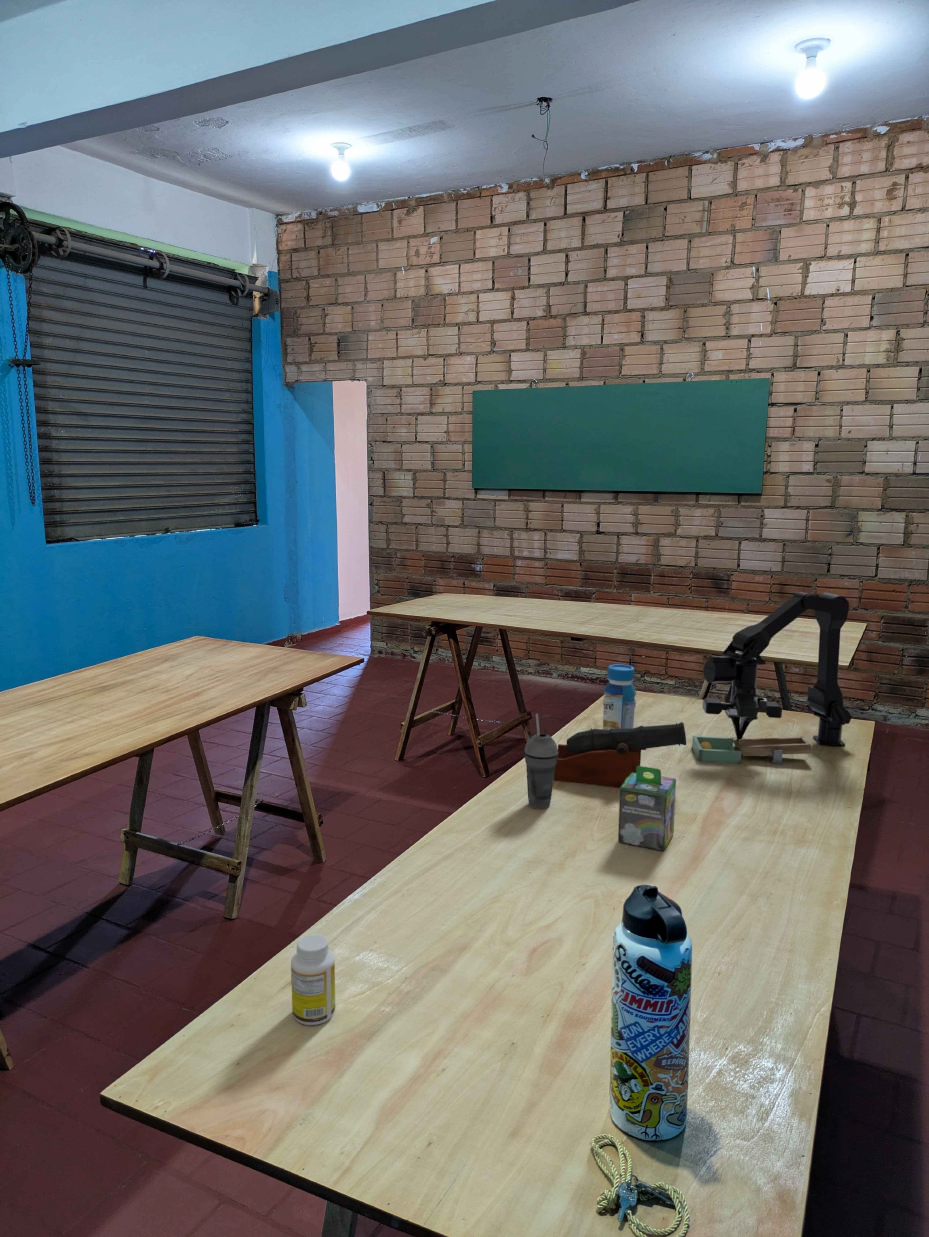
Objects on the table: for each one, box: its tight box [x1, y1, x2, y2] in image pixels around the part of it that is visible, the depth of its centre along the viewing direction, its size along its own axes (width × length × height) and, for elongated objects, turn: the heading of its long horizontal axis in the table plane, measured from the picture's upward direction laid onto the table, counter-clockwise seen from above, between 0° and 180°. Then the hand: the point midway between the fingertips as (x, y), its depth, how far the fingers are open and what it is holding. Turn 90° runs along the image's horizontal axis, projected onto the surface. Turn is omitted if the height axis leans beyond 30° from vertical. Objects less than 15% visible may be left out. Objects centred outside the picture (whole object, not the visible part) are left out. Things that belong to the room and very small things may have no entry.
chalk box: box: [617, 765, 677, 852], centre depth 163 cm, size 9×9×15 cm
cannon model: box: [553, 721, 687, 789], centre depth 194 cm, size 13×30×15 cm, turn 75°
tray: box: [691, 735, 742, 765], centre depth 213 cm, size 11×10×3 cm
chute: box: [731, 736, 812, 757], centre depth 214 cm, size 12×16×2 cm
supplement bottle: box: [290, 933, 336, 1026], centre depth 110 cm, size 6×6×10 cm
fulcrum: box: [767, 749, 783, 765], centre depth 211 cm, size 8×2×4 cm, turn 173°
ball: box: [700, 742, 712, 749], centre depth 213 cm, size 3×3×3 cm
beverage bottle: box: [602, 663, 637, 730], centre depth 221 cm, size 8×8×20 cm
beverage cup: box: [523, 713, 558, 810], centre depth 178 cm, size 7×7×20 cm
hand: (738, 740), depth 218 cm, fingers closed, pressing on chute
